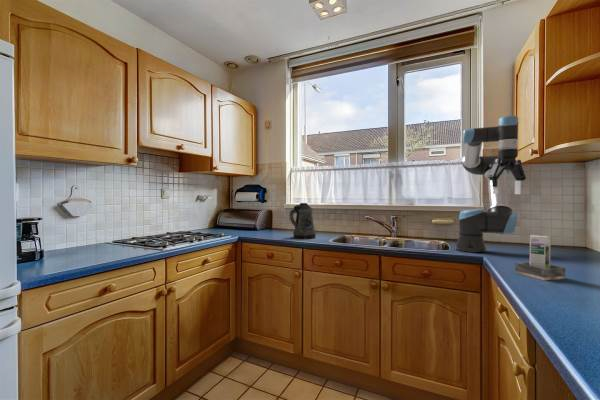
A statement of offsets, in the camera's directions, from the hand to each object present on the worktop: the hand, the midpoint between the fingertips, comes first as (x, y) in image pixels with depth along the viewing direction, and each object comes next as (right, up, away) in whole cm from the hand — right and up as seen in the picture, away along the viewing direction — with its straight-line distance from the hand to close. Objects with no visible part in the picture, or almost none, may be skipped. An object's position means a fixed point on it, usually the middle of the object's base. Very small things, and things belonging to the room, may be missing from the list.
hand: (507, 194), depth 136 cm
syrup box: (-6, -31, -26) cm, 41 cm away
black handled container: (-96, -30, +71) cm, 123 cm away
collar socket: (-7, -32, -26) cm, 42 cm away
